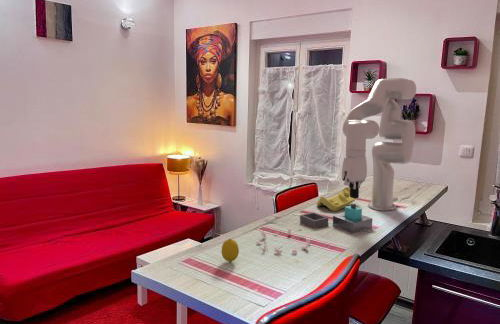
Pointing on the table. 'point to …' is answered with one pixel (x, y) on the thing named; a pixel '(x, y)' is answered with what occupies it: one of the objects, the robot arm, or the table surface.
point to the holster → (314, 220)
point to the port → (352, 223)
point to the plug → (353, 212)
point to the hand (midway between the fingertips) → (354, 197)
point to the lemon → (230, 250)
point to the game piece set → (282, 246)
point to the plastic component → (337, 200)
